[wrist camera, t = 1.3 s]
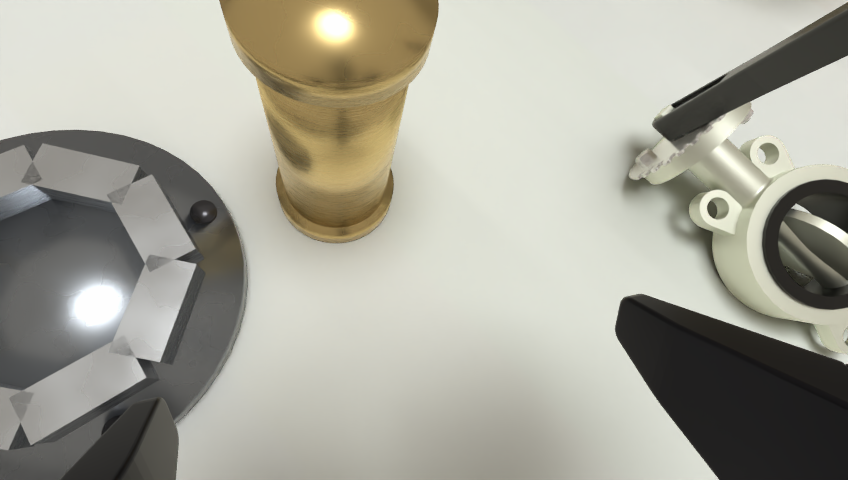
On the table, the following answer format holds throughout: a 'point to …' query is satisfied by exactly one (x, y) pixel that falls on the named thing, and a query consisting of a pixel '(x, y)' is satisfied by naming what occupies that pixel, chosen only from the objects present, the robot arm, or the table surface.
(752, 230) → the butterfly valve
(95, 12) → the table surface
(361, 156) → the gold flared cylinder
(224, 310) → the flange
